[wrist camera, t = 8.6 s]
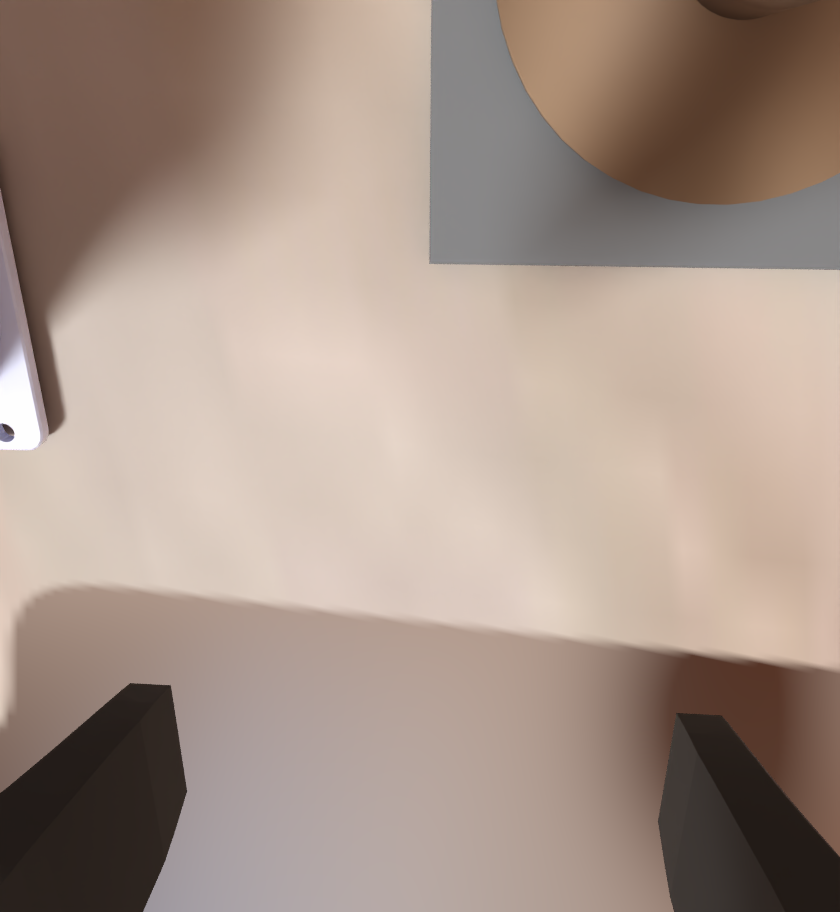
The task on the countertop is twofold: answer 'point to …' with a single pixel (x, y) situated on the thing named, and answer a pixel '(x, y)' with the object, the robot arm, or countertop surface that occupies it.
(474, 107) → the mat
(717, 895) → the robot arm
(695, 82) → the lid
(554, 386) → the countertop surface
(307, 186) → the countertop surface
